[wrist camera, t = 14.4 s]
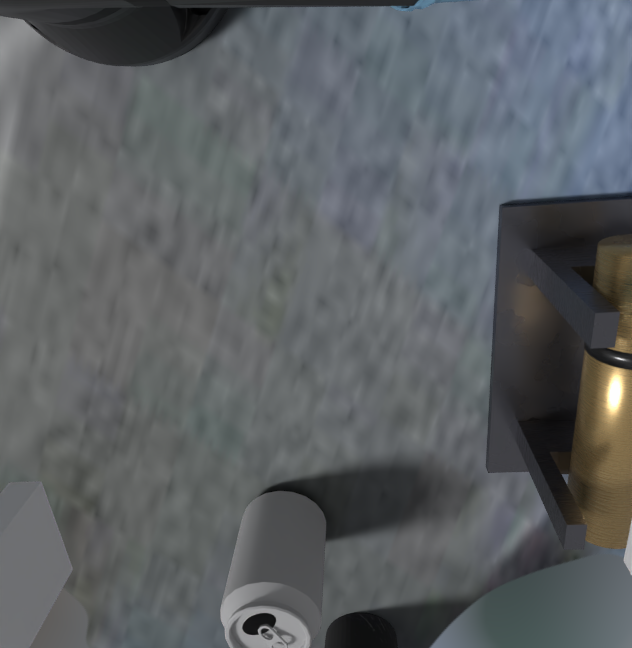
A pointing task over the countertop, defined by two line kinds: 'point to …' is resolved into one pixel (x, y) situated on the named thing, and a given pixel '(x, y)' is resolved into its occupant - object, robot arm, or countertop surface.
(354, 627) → the travel mug
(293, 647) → the can
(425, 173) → the countertop surface
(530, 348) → the dark grey pronged rack
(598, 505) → the tube
